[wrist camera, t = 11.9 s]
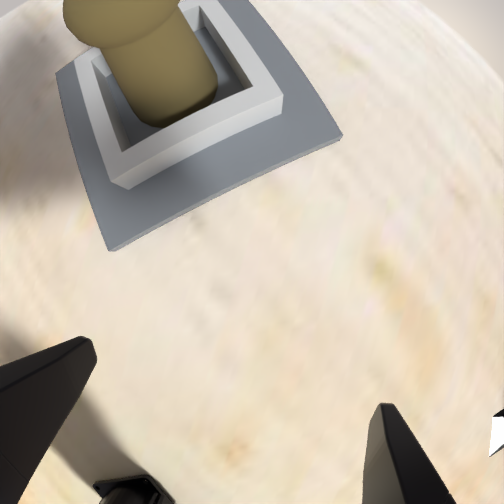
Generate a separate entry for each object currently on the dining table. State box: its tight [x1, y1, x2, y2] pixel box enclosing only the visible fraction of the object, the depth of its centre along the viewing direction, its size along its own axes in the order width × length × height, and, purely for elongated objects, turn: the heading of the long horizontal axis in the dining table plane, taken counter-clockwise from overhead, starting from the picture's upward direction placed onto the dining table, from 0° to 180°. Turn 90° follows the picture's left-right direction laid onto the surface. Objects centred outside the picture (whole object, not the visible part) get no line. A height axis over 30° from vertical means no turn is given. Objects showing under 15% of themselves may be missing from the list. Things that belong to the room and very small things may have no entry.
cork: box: [63, 0, 218, 128], centre depth 13 cm, size 6×6×11 cm
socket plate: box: [55, 0, 343, 251], centre depth 17 cm, size 16×16×4 cm
